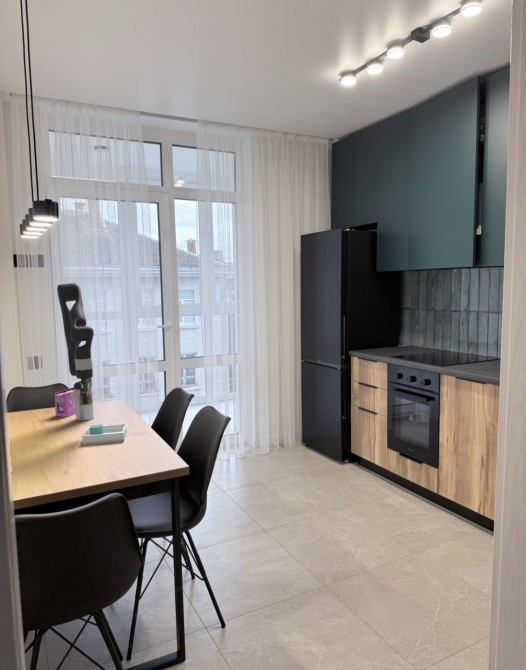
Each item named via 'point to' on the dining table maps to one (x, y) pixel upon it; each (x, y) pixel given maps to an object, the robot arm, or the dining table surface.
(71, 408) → the gum box
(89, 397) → the walnut block
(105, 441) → the white tray
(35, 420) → the dining table surface
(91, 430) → the teal block
